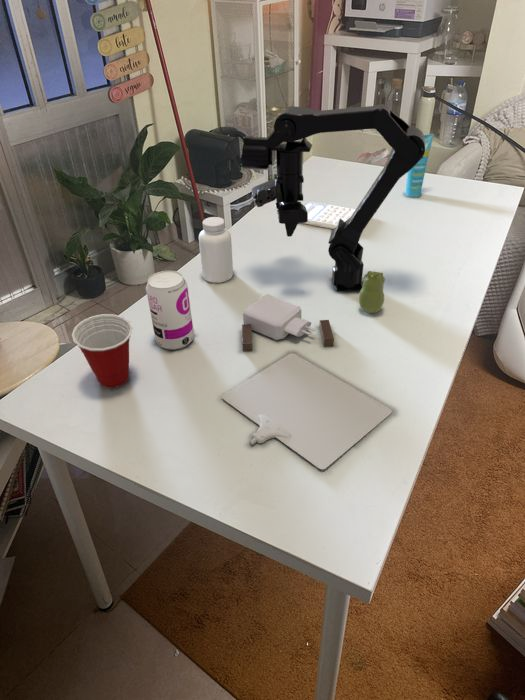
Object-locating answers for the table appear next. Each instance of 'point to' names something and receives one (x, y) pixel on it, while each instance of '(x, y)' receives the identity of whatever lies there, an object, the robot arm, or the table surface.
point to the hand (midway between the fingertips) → (289, 235)
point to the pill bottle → (215, 250)
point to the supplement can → (170, 309)
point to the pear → (372, 292)
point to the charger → (276, 318)
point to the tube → (418, 171)
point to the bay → (323, 325)
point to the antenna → (306, 409)
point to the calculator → (326, 214)
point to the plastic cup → (105, 347)
